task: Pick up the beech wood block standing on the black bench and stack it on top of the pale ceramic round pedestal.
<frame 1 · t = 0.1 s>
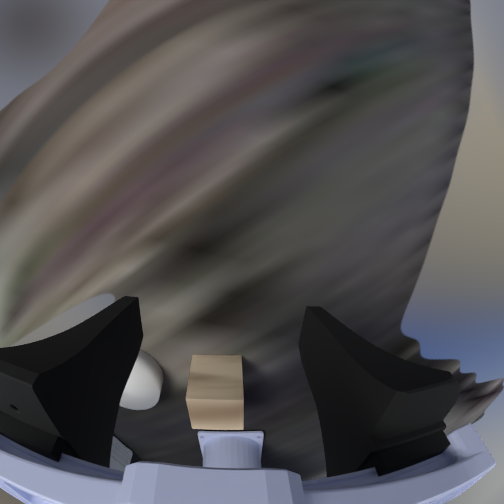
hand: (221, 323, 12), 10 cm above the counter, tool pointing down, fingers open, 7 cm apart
beech block: (217, 372, 25), on the counter
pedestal: (130, 370, 25), on the counter
skincare box: (103, 436, 30), on the counter
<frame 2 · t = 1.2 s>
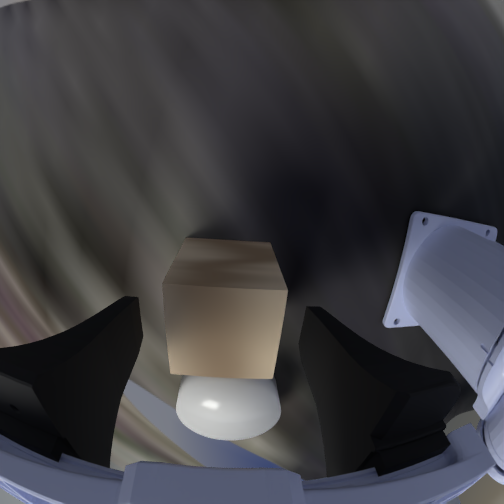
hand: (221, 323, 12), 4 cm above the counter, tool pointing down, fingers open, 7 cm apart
beech block: (225, 278, 16), on the counter
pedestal: (228, 389, 19), on the counter
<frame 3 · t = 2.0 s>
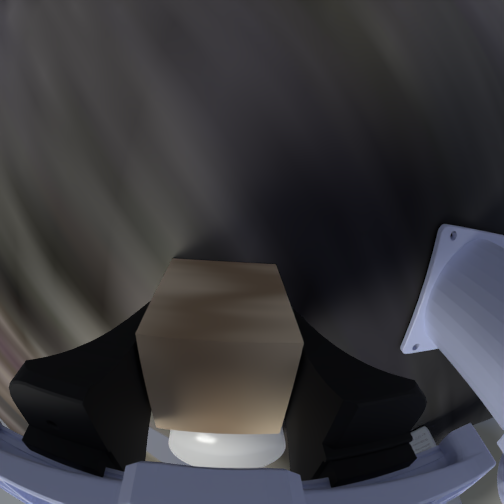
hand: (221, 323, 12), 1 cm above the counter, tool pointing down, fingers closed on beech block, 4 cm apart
beech block: (221, 306, 13), on the counter, touching gripper
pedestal: (226, 420, 16), on the counter
skincare box: (384, 451, 21), on the counter
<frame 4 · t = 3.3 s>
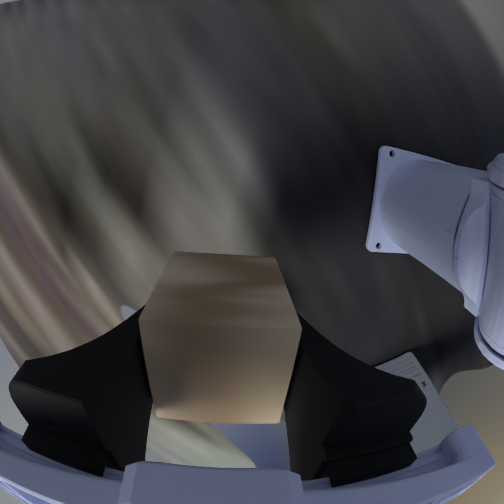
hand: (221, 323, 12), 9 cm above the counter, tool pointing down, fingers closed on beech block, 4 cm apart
beech block: (222, 299, 13), point 7 cm above the counter, touching gripper
skincare box: (375, 380, 26), on the counter
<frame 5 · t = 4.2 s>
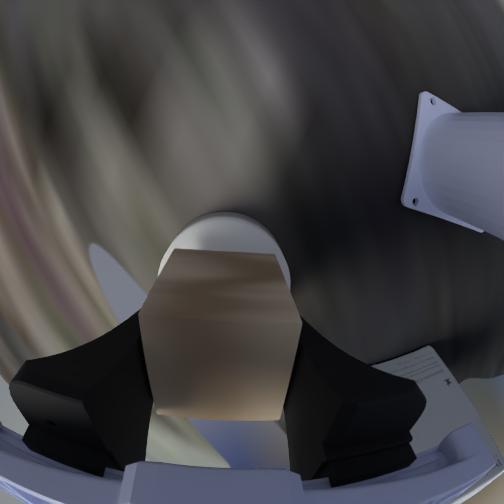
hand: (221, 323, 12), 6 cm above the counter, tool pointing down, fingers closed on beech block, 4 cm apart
beech block: (222, 296, 13), point 4 cm above the counter, touching gripper
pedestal: (224, 269, 17), on the counter
skincare box: (386, 377, 22), on the counter
when the fingers open (5 cm above the counter, at t = 4.8 s): beech block stays where it is, resting on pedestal.
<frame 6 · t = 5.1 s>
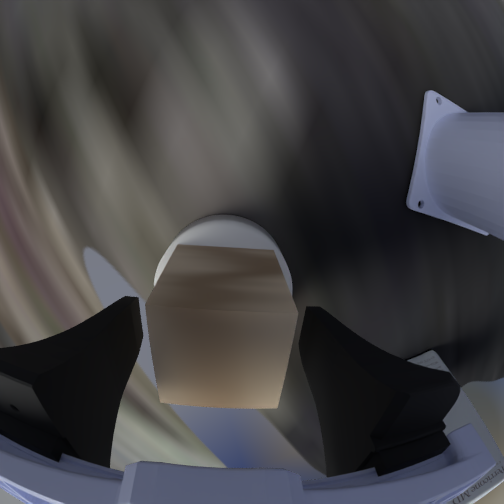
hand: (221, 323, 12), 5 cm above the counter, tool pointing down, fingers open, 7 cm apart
beech block: (223, 290, 14), point 2 cm above the counter, touching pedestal
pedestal: (223, 274, 16), on the counter
skincare box: (389, 383, 21), on the counter
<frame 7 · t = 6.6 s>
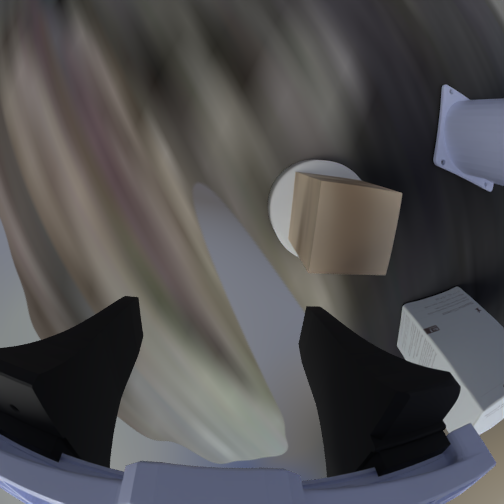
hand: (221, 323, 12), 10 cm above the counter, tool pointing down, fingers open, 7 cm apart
beech block: (324, 208, 18), point 2 cm above the counter, touching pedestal
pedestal: (313, 205, 21), on the counter
skincare box: (425, 316, 26), on the counter
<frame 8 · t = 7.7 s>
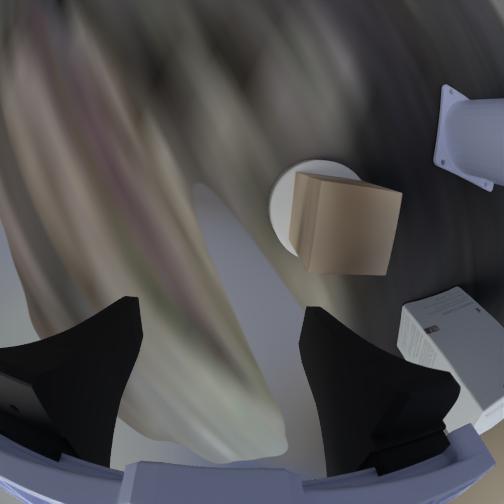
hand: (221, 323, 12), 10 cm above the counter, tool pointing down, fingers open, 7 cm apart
beech block: (324, 208, 18), point 2 cm above the counter, touching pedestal
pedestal: (313, 205, 21), on the counter
skincare box: (425, 316, 26), on the counter
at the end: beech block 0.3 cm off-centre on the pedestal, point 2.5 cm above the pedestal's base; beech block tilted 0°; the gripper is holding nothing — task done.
